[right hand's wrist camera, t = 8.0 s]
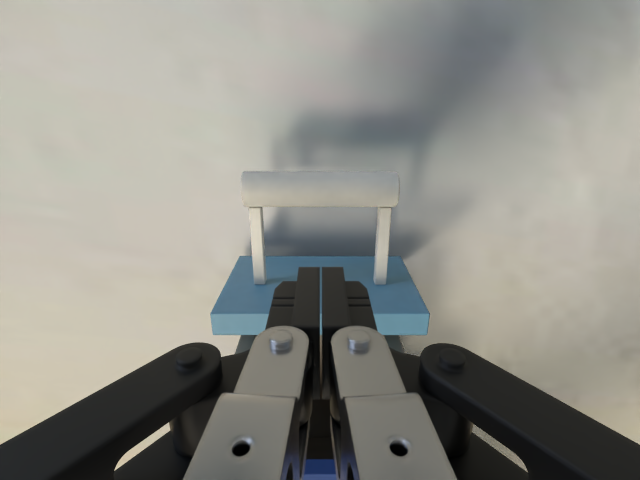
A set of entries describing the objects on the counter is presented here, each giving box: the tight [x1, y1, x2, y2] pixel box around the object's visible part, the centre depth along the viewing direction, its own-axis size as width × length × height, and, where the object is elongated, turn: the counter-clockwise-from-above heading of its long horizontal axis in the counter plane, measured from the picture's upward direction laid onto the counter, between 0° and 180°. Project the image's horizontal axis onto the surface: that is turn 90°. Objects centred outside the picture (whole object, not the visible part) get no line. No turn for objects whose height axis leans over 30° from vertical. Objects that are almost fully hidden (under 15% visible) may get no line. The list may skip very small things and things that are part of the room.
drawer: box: [210, 171, 430, 459], centre depth 21 cm, size 21×10×7 cm, turn 0°
